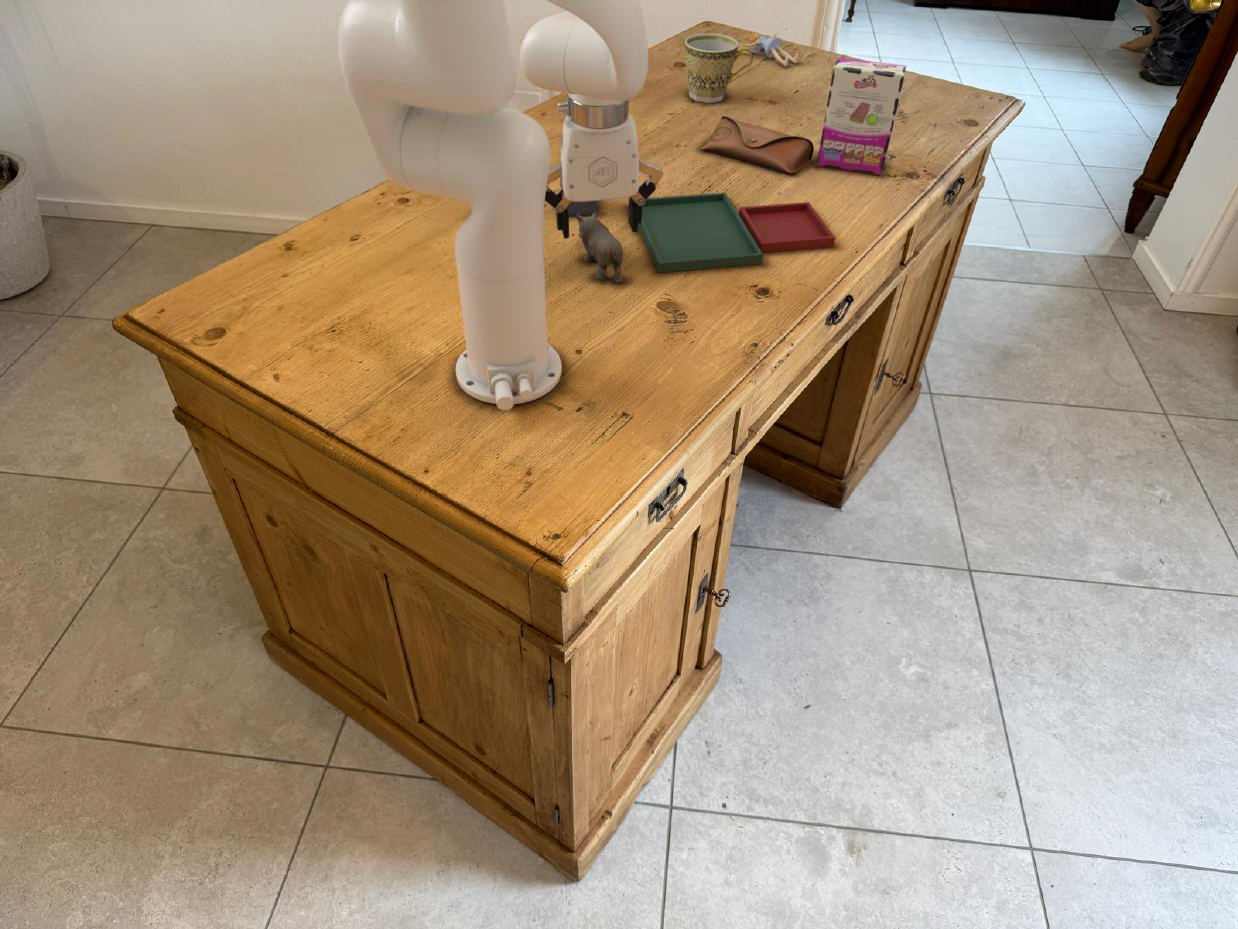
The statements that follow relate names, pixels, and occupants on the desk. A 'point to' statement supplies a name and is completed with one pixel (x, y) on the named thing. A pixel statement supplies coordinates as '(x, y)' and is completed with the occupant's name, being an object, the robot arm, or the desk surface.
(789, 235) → the burgundy tray
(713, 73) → the ceramic cup
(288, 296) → the desk surface
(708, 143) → the sunglasses case
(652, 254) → the green tray
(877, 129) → the candy bar box
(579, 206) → the block
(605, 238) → the rhino figurine
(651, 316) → the desk surface
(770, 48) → the fairy figurine
